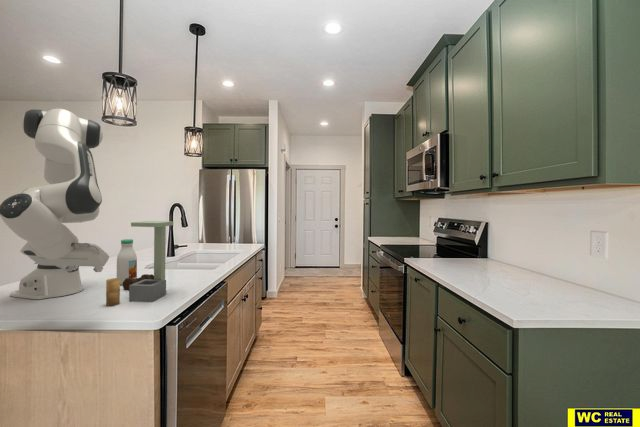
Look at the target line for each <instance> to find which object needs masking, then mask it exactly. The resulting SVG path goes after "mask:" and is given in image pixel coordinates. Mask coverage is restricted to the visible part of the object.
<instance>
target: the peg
mask: <svg viewBox="0 0 640 427" xmlns="http://www.w3.org/2000/svg"><path fill="white" fill-rule="evenodd" d="M105 282H106V284H105V288H106V289H105V300H106V301H105V306H107V307H114V306H117V305H120V304H121V302H120V301H121V300H120V299H121V298H120V296H121V294H120V293H121V292H120V290H121V285H120V279H119V278H117V277H112V278H109V279H108V278H107V279H106V280H105Z"/></svg>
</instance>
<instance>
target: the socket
mask: <svg viewBox="0 0 640 427" xmlns="http://www.w3.org/2000/svg"><path fill="white" fill-rule="evenodd" d="M128 292H129V293H128V301H129V302H142V303H143V302H147V303H153V302H155V301H157V300H159V299H161V298H163V297H165V296H166V295H167V279H165V280H152V279H144V280H141V281H139V282H136V283H134V284H131V285H129V291H128Z"/></svg>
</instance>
